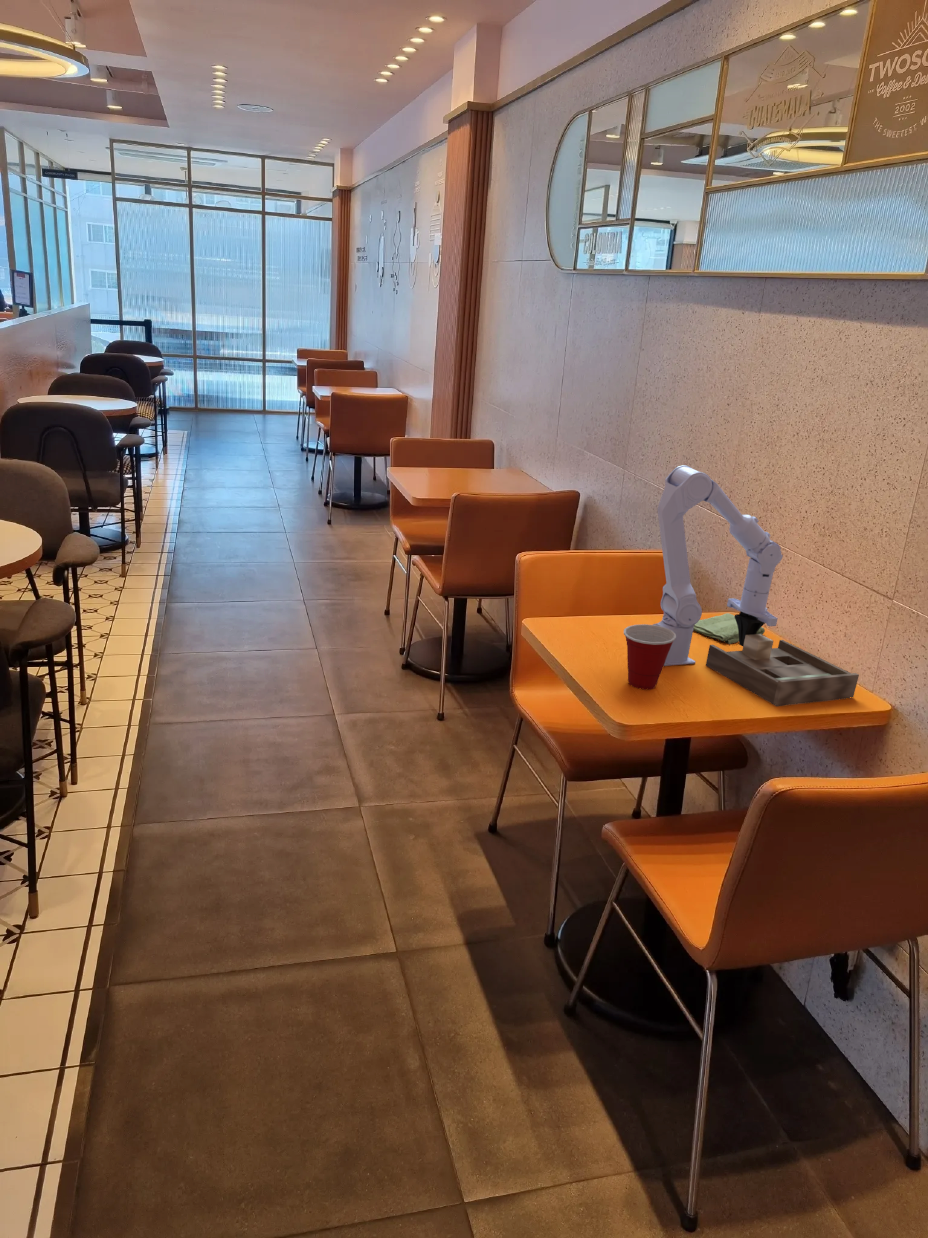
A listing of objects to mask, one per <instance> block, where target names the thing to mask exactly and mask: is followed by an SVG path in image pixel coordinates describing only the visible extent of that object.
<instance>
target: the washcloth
mask: <svg viewBox="0 0 928 1238" xmlns="http://www.w3.org/2000/svg"><path fill="white" fill-rule="evenodd" d="M693 632H696V633H699V634H702V635H704V636H706V637H710V638H711V639H716V640H718V641H721V642H723V643H725V644H727V645H732V644H735V643H739V632H738V626H737V622H736V620H735V614H733V613H732V614H731V613H729V612H727V613H724V614H721V615H715V616H712V617H709V618H703V619H700V620H699V621H698V622H697V623H696V624H695V625H694V628H693ZM765 632H766V630H765V627H763V626H762V627H761V628H760V629H759V630H758V632H757V633H756V634H761V635H764V633H765Z"/></svg>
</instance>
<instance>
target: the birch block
mask: <svg viewBox="0 0 928 1238" xmlns="http://www.w3.org/2000/svg"><path fill="white" fill-rule="evenodd" d="M773 646H774V640H773V639H771V638H769V637H767V636H765V635H764V634H762V635H761V634H754V635H746V636H745V640H744V645H743V646H742V650H741V651H742V653H743V654H745V655H747V656H749V657H750V658H752V659H754V660H760V659H770V655H771V650H772V648H773Z"/></svg>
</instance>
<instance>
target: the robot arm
mask: <svg viewBox="0 0 928 1238" xmlns="http://www.w3.org/2000/svg"><path fill="white" fill-rule="evenodd" d="M664 484H665V485H664V489H663V491H662V493H661V496H660V500H659V502H658V505H657V519H658V527H659V534H660V535H659V536H660V541H661V542H660V543H661V549H662V551H661V552H662V558H663V566H664V567H663V569H664V574H665V582H666V583H665V584H664V585H663V586H662V597H661V599H660V608H661V610H662V611H663V615H662V619H661V620H660V621H659V622H657V623H653V624H652V625H656V626H660V627H665V628H667V629H669V630H672V631H673V632H674V633H675V634H676V639H675V640H674V641H673V643H672V646H671V647H670V651H669V652H668V655H667V658H666V661H665V663H664V666H663V667H667V666H678V665H680V666H681V665H690V664H691V665H692V664H693V665H694V664H696V660H695V659H692V658H690V657H689V654H690V648H691V643H692V639H693V633H694V631H693V628H694V625H695V624H696V623H697V622H698V621H699V620H701V617H702V614H703V611H702V610H703V609H702V606H701V605H700V603H699V602H698V600H697V594H696V592H695V590H694V588H693V586H692V583H691V575H690V567H689V558H688V552H687V551H688V548H687V539H686V533H685V532H686V531H685V523H684V515H686V514H687V512H688V511H690V509H692V508H693V507H695V506H697V505H698V504H700V503H701V502H705V503H708V504H710V505H711V506H712V507H713V508H714V509H715V510H716V511H717V513H718V514H720V515H721V516H722V517H723V518H724V520H726V522H727V523H729V529H728V530H729V534H730V535H731V536H732V537H733V538H734V539H735V540H736V541H737V542H738V543H739V545H740V546H741V547H742V548H743V549H744V550H745V554H746V556H747V557H749V559H748V564H747V569H746V575H745V580H744V584H743V587H742V588H743V589H742V593H741V598H740V600H739V599H737V598H735V597H734V598H733V597H732V598H727V603H726V607H728V608H732V609H735V610H736V611H739V613H737V614H734V616H735V620H736V622H737V626H738V632H739V642H738V644H739V645H740V646H741V647H743V645H744V640H745V636H746V635H754V634H756V633H757V632H758V630H759V629H760V628H761V627H763V626H764V625H765V624H766V626H767V627H776V626H777V623H778V617H777V616H775V615H773V614H772V613H770V611H768V610H769V609H768V608H767V603H768V599H769V594H770V590H771V587H772V586H771V585H772V580H773V576H774V573H775V570H776V567H777V565H779V564H780V563H781V561H782V559H783V557H784V555H783V554H782V548H781V546H780V545H779V543H777V542H775V541H774V540H772V539H771V534H770V533H769V532H768V531H764V529H763V528H762V527H761V526H760V525H759V521H760V520H759V519H758V518H757V516H754V515H753V516H751V514H742V513H741V512H740V510H739V509H738V508H737V506H736V505H735V504H734V503H733V502H732V501H731V499H730V498H729V496H728V495H727V493H725V492H724V490H723V489H722V487H721V486H720V485H719V484H718V483H717V482H716V480H715V481H714V480H713V479H711V477H710V476H709V475H708V474H707V473H705V472H702V471H699V470H696V469H694V468H692V467H691V466H689V465H685V464H683V465H678V466H676V467H675V468H674V469H672V471H670V473H669V474H668V475H667V476H666V477H665V479H664Z"/></svg>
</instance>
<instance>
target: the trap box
mask: <svg viewBox="0 0 928 1238" xmlns="http://www.w3.org/2000/svg"><path fill="white" fill-rule="evenodd" d="M705 666H706V667H707V668H710V669H711V670H713V671H715V672H716V673H718V674H720V675H721V676H724V677H725V678H727V679H728V680H730V681H732V682H734V683H735V684H737V685H739V686H740V687H742V688H744V689H745V690H747V691H749V692H751V693H752V694H755V696H758V697H759V698H761V699H763V700H764V701H766V702H767V703H770V704H772V705H773V706H775V707H784V706H793V705H800V704H801V705H803V704H811V703H821V702H830V701H837V700H839V699H840V700H847V699H846V698H849V699H851V698H850V697H853V698H854V696H855V693H856V688H857V684H858V681H859V677H860V674H859V673H856V672H852V673H851V672H849V671H847V670H846V669H843V668H841V667H840V666H838V665H835V664H833V663H831V662H829V661H827V660H824V659H823V658H821V657H819V656H816V655H815V654H813V653H811V652H809V651H807V650H805V649H802V648H801V647H798V646H797V645H794V644H792V643H790V642H788V641H786V640H785V639H779V642H778V646H777V647H774V648H773V647H772V650H771V655H770V659H760V660H754V659H752V658H750V657H749V656H747V655H745V654H743V653H742V650H731V651H726V650H724V649H722V648H720V647H718V646H716V645H714V644H709V646H708V652H707V656H706V661H705ZM840 700H839V701H840Z"/></svg>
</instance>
